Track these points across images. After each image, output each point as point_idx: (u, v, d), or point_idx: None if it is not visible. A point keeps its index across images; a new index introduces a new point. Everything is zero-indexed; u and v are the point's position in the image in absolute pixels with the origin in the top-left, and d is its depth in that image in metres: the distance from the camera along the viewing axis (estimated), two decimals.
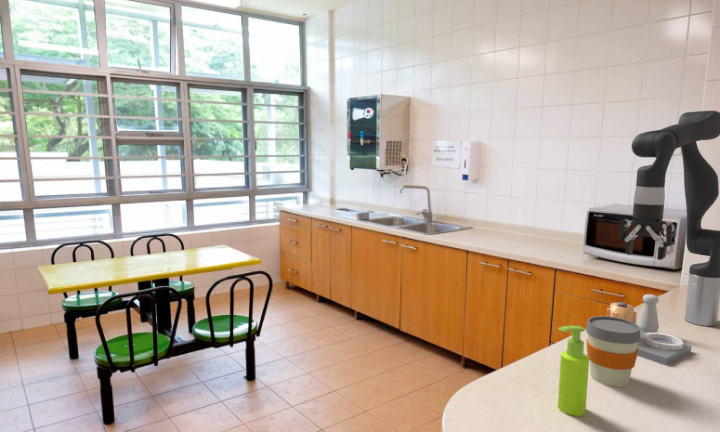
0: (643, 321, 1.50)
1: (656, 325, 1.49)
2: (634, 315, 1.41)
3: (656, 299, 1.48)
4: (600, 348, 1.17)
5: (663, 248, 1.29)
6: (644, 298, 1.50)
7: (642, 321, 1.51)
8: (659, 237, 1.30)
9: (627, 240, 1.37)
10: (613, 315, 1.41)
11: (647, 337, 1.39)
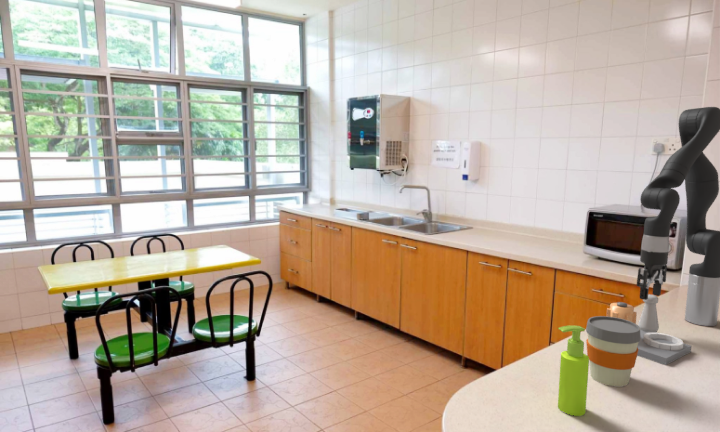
0: (643, 321, 1.50)
1: (656, 325, 1.49)
2: (634, 315, 1.41)
3: (656, 299, 1.48)
4: (600, 348, 1.17)
5: None
6: None
7: (642, 321, 1.51)
8: None
9: None
10: (613, 315, 1.41)
11: (647, 337, 1.39)
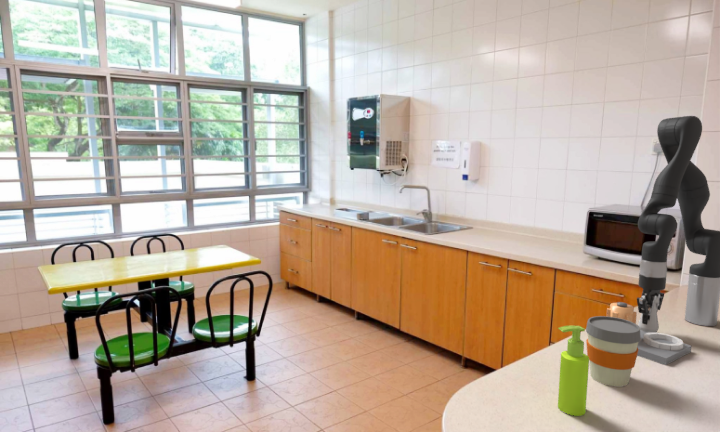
0: None
1: (656, 325, 1.49)
2: (634, 315, 1.41)
3: (656, 299, 1.48)
4: (600, 348, 1.17)
5: None
6: None
7: None
8: None
9: None
10: (613, 315, 1.41)
11: (647, 337, 1.39)
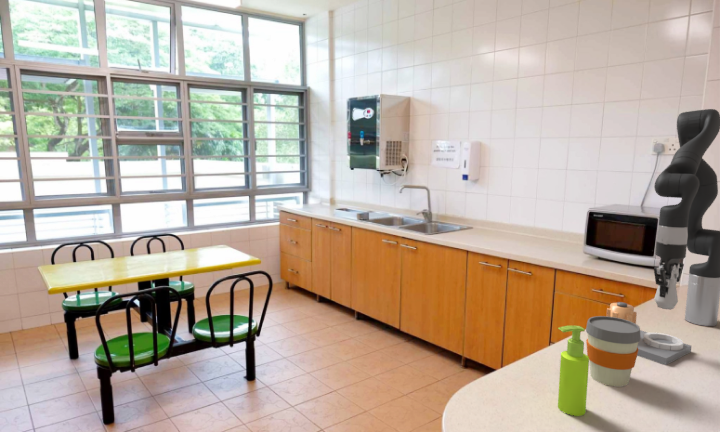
0: None
1: (675, 298, 1.34)
2: (634, 315, 1.41)
3: (675, 269, 1.34)
4: (600, 348, 1.17)
5: None
6: None
7: (659, 294, 1.36)
8: None
9: (668, 285, 1.34)
10: (613, 315, 1.41)
11: (647, 337, 1.39)
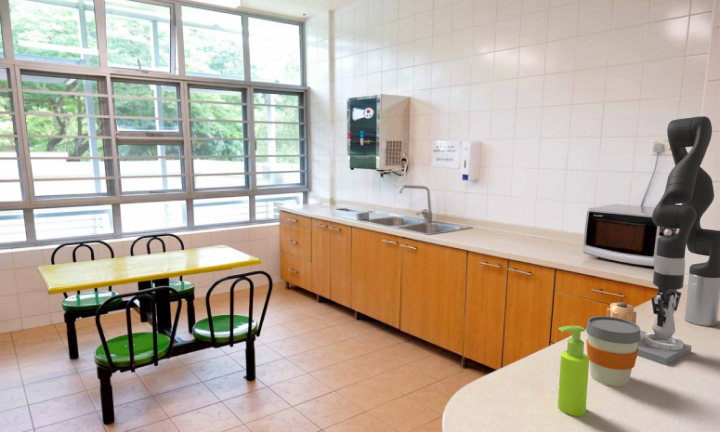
0: None
1: (672, 327, 1.35)
2: (634, 315, 1.41)
3: (672, 299, 1.35)
4: (600, 348, 1.17)
5: None
6: None
7: None
8: None
9: None
10: (613, 315, 1.41)
11: (647, 337, 1.39)
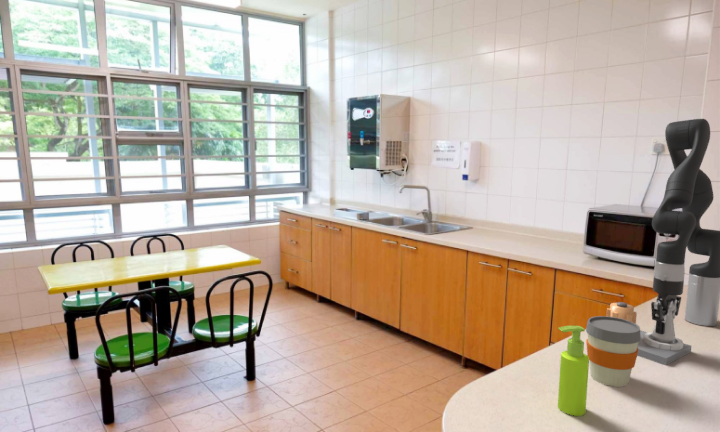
0: None
1: (672, 335, 1.36)
2: (634, 315, 1.41)
3: (673, 306, 1.35)
4: (600, 348, 1.17)
5: None
6: None
7: None
8: None
9: (665, 320, 1.35)
10: (613, 315, 1.41)
11: (647, 337, 1.39)
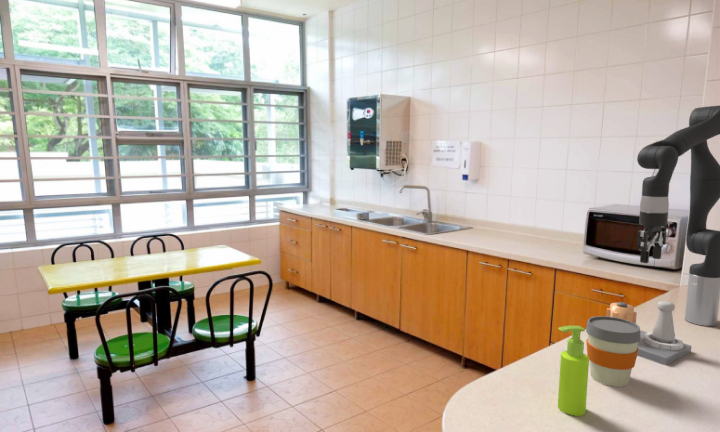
0: (658, 331, 1.37)
1: (672, 335, 1.36)
2: (634, 315, 1.41)
3: (672, 306, 1.35)
4: (600, 348, 1.17)
5: None
6: (659, 305, 1.37)
7: (657, 330, 1.38)
8: None
9: (648, 249, 1.41)
10: (613, 315, 1.41)
11: (647, 337, 1.39)
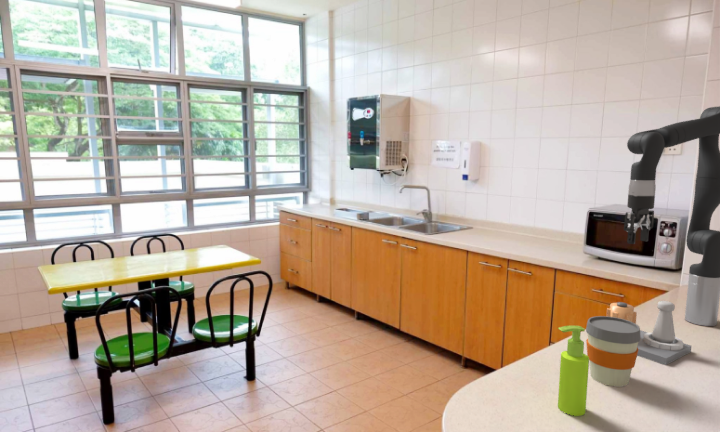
0: (658, 331, 1.37)
1: (672, 335, 1.36)
2: (634, 315, 1.41)
3: (672, 306, 1.35)
4: (600, 348, 1.17)
5: None
6: (659, 305, 1.37)
7: (657, 330, 1.38)
8: None
9: (635, 231, 1.48)
10: (613, 315, 1.41)
11: (647, 337, 1.39)
